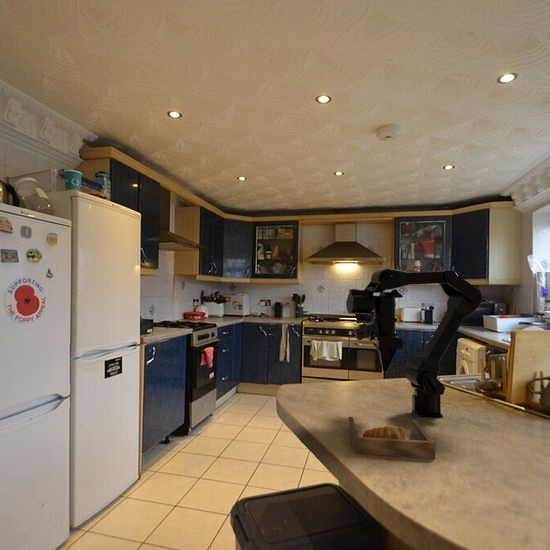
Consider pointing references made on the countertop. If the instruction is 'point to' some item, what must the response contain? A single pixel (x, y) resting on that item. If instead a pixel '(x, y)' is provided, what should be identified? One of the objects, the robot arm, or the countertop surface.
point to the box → (394, 443)
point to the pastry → (386, 433)
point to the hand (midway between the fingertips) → (384, 370)
